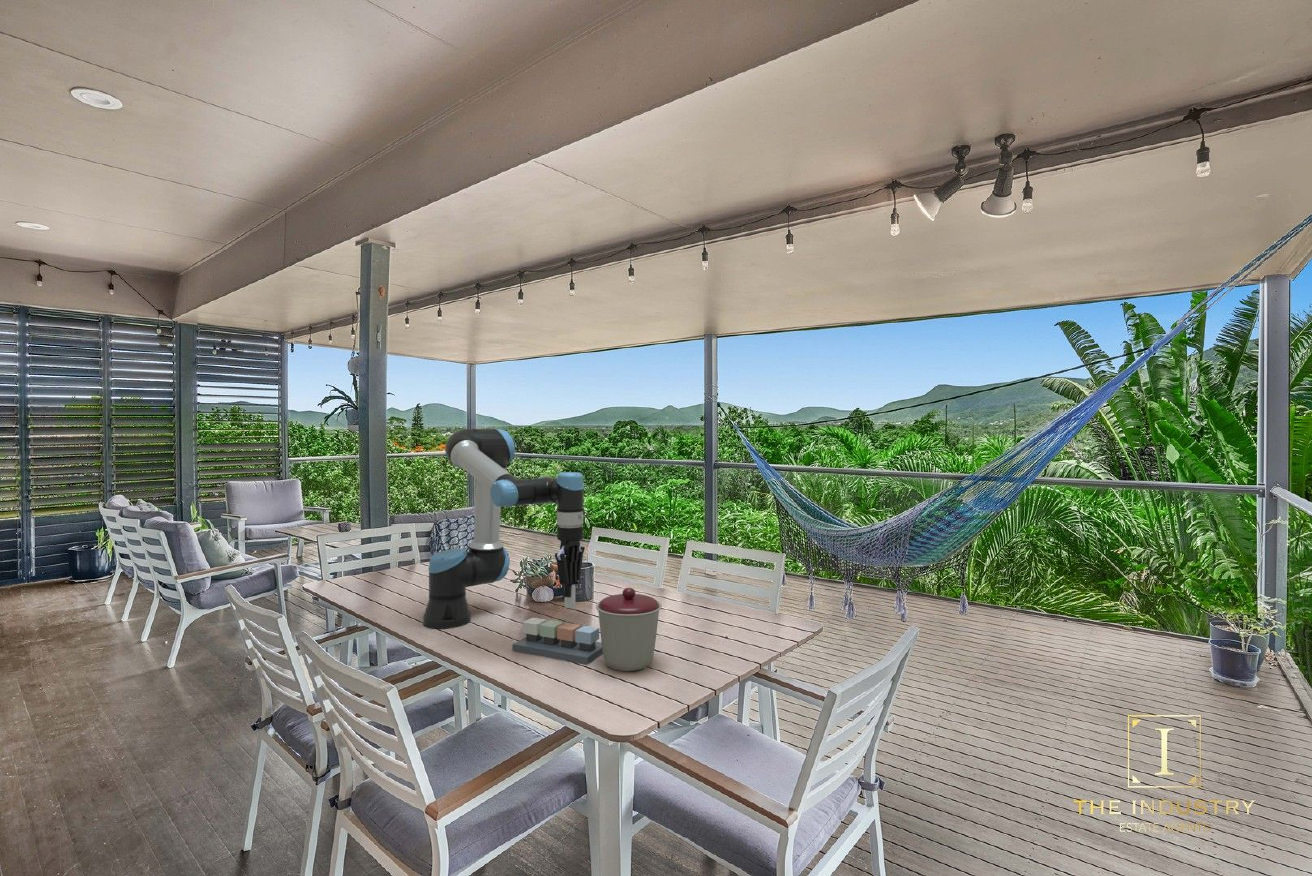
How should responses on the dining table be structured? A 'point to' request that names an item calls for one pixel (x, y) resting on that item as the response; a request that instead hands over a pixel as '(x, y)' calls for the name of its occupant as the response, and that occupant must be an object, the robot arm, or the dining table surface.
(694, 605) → the dining table surface
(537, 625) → the key ivory
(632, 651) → the canister
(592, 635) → the key blue
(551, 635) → the key sage
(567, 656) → the keypad board
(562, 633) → the key terracotta
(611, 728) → the dining table surface
